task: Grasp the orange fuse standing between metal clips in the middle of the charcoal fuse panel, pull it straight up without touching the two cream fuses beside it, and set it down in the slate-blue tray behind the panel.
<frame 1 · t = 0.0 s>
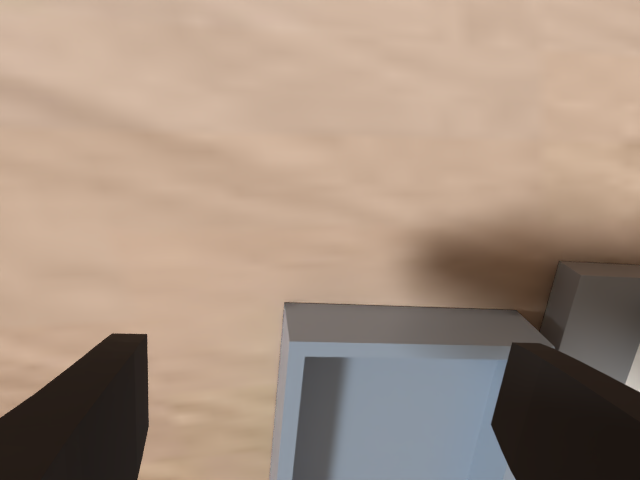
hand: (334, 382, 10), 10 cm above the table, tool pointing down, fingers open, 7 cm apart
tray: (379, 450, 23), on the table
fuse panel: (587, 478, 26), on the table
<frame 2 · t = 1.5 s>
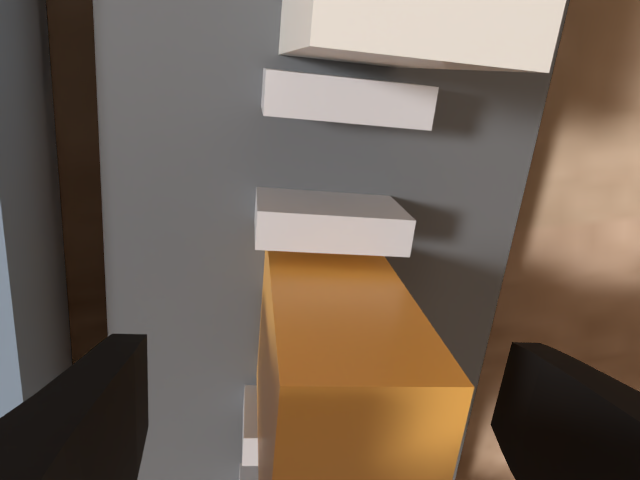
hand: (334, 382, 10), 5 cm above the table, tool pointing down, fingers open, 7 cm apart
orange fuse: (312, 309, 13), point 1 cm above the table, touching fuse panel
fuse panel: (306, 284, 14), on the table
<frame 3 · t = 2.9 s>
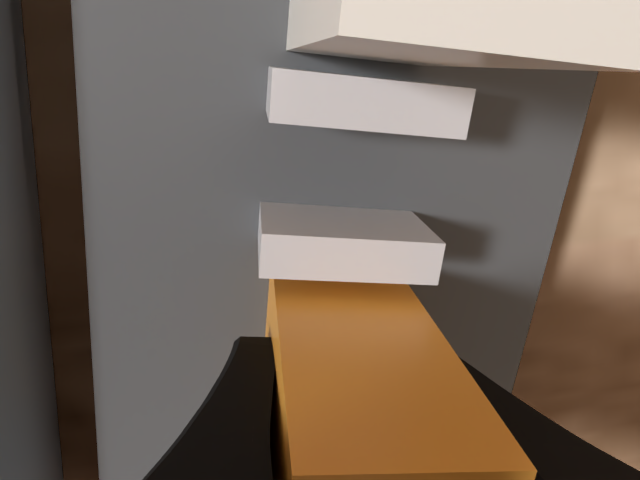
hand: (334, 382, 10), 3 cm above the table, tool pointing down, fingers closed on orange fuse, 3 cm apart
orange fuse: (322, 337, 11), point 2 cm above the table, touching fuse panel, gripper
fuse panel: (314, 306, 13), on the table
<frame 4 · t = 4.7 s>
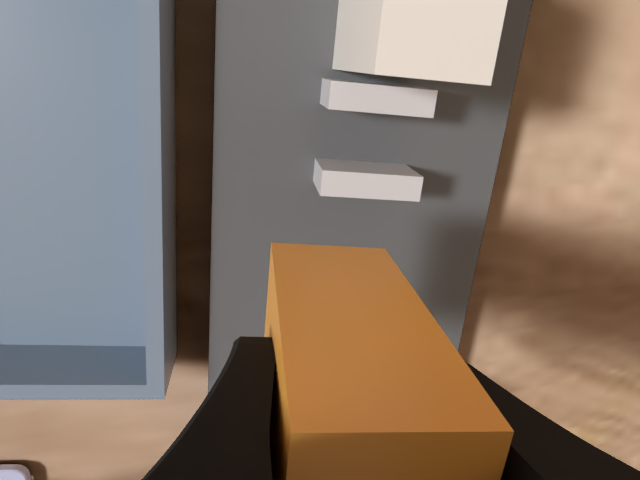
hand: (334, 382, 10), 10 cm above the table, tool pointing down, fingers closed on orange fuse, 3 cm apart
tray: (24, 161, 17), on the table
orange fuse: (320, 324, 12), point 8 cm above the table, touching gripper
fuse panel: (343, 231, 20), on the table
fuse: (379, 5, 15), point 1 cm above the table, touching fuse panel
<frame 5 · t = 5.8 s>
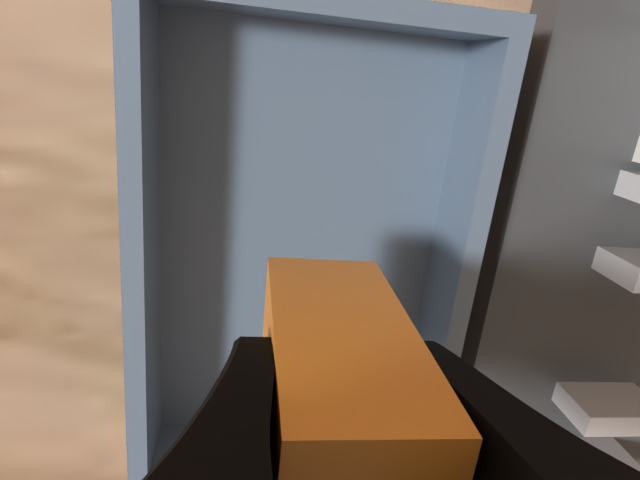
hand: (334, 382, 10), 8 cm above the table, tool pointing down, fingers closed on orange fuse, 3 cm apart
tray: (298, 246, 17), on the table
orange fuse: (314, 333, 12), point 5 cm above the table, touching gripper
fuse panel: (587, 308, 19), on the table
when the fingers open (4 cm above the table, at t = 6.7 s): orange fuse stays where it is, resting on tray.
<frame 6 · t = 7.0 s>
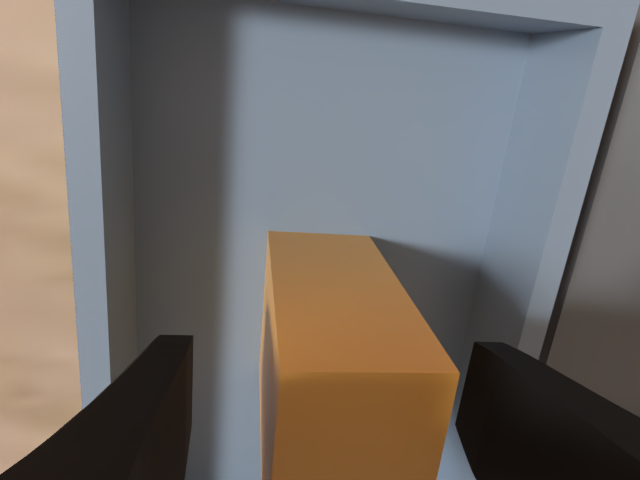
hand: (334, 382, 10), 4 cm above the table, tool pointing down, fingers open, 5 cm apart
tray: (310, 289, 14), on the table
orange fuse: (312, 304, 13), resting on tray
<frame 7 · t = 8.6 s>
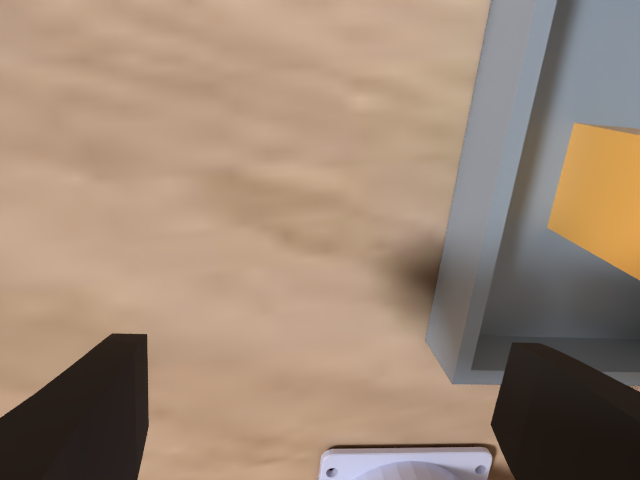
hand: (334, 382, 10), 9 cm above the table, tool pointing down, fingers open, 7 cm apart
tray: (584, 171, 19), on the table
orange fuse: (591, 179, 19), resting on tray
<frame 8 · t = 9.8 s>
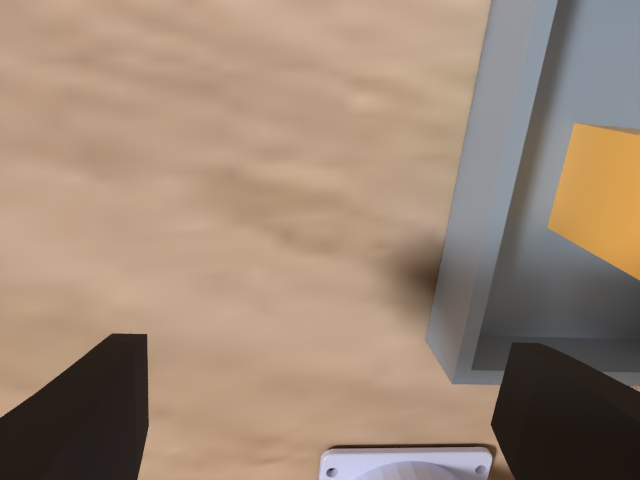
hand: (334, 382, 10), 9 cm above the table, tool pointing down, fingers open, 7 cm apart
tray: (584, 171, 19), on the table
orange fuse: (591, 179, 19), resting on tray
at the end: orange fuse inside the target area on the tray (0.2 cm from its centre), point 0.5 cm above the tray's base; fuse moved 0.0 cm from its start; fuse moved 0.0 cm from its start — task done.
